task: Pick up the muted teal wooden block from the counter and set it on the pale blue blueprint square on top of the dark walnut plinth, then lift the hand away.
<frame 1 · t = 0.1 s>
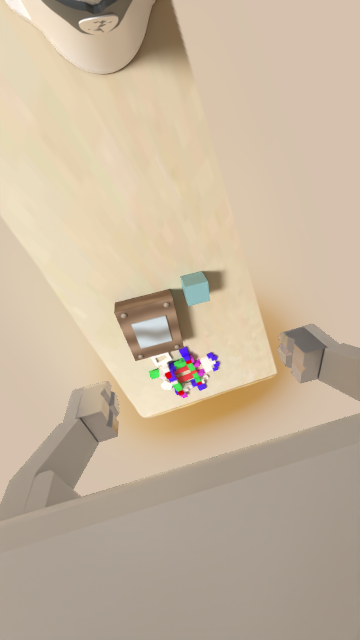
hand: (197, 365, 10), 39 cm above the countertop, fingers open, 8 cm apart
teal block: (192, 283, 53), on the countertop
building block set: (185, 368, 72), on the countertop
plinth: (150, 322, 57), on the countertop
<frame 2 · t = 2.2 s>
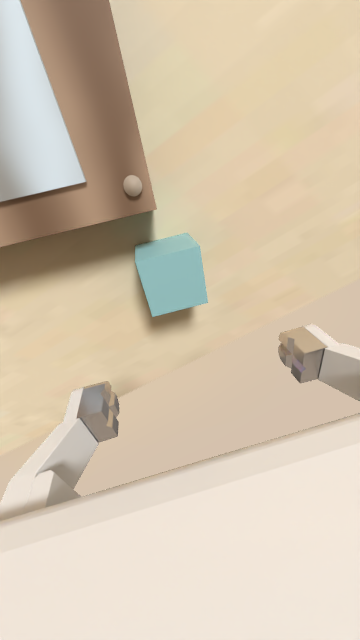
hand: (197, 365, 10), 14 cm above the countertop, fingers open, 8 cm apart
teal block: (167, 264, 22), on the countertop
plinth: (15, 127, 15), on the countertop
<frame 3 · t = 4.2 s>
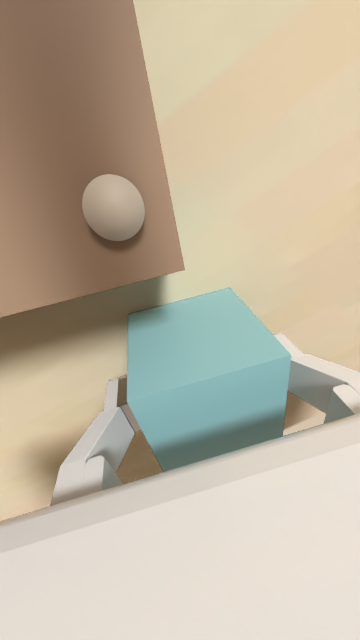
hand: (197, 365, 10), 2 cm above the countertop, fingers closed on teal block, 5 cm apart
teal block: (188, 340, 12), on the countertop, touching gripper
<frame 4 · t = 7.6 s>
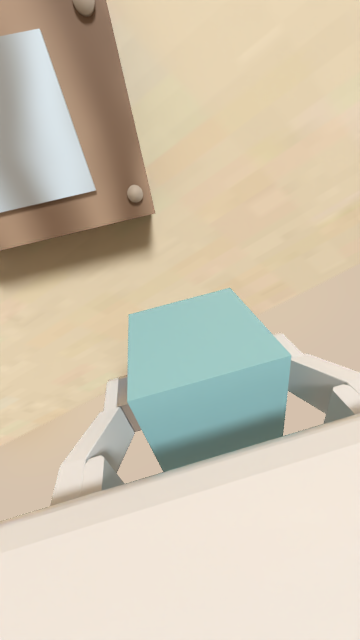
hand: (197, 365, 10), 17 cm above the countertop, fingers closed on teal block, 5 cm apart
teal block: (188, 341, 12), point 15 cm above the countertop, touching gripper
plinth: (34, 143, 18), on the countertop
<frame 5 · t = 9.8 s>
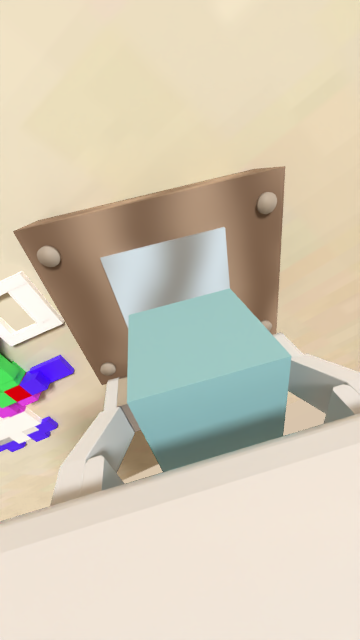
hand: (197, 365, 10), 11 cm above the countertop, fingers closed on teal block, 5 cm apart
teal block: (188, 341, 12), point 9 cm above the countertop, touching gripper
plinth: (168, 277, 20), on the countertop
when the fingers open (8 cm above the countertop, at t = 11.3 s): teal block drops 1 cm, resting on plinth.
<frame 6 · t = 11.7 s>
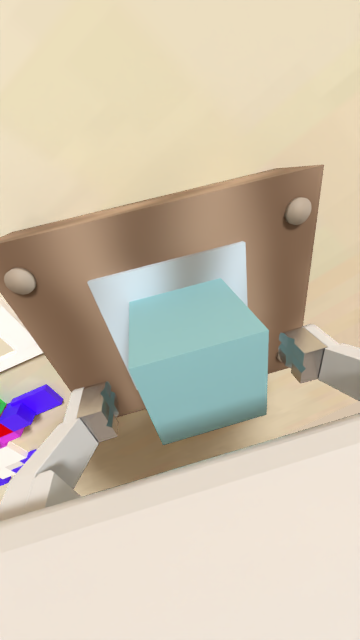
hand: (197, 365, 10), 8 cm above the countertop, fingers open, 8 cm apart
teal block: (184, 327, 13), point 4 cm above the countertop, touching plinth
plinth: (171, 295, 17), on the countertop
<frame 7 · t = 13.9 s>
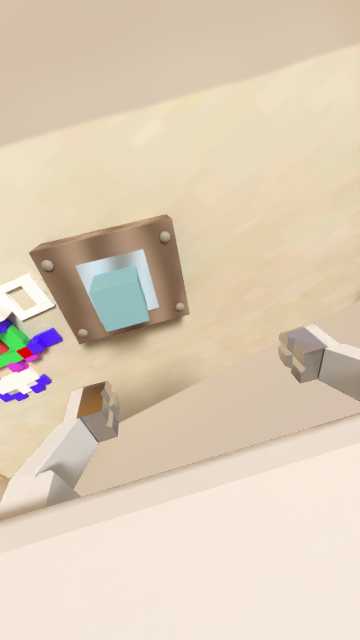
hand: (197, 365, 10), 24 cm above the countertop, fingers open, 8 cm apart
teal block: (121, 288, 28), point 4 cm above the countertop, touching plinth
plinth: (121, 276, 32), on the countertop
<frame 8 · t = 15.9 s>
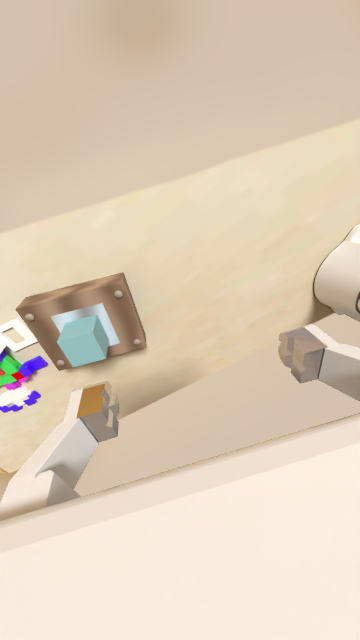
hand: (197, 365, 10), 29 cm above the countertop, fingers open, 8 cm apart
teal block: (88, 331, 37), point 4 cm above the countertop, touching plinth
plinth: (91, 317, 40), on the countertop
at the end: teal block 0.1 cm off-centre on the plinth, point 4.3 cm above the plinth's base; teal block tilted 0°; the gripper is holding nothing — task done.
